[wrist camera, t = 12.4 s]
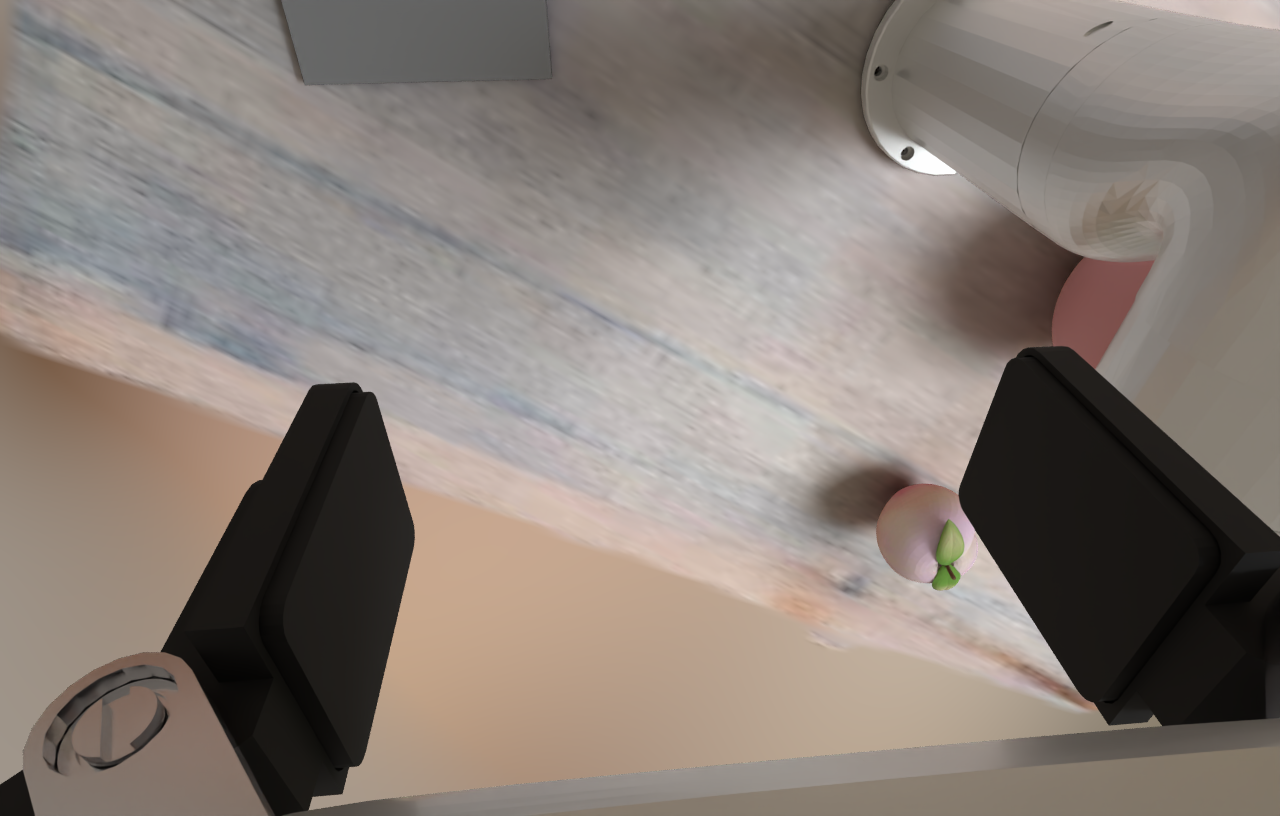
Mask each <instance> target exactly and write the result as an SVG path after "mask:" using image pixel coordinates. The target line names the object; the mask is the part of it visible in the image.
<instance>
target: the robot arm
mask: <svg viewBox="0 0 1280 816" xmlns="http://www.w3.org/2000/svg"><path fill="white" fill-rule="evenodd" d="M878 66H879V68H880V70H879V72H878V73H877V74H875V75H874V72H875V69H876V68H877V67H878ZM861 100H862V107H863V115H864V118H865V121H866V124H867V127H868V129H869V132H870V134H871V136H872V137H873V139H874V140H875V142H876V143H877V145H878V147H879V148H880V149H881V150H882V151H883V152H885V153H886V154H887V155H888V156H889V157H890V158H891V159H892V160H893V161H895V162H896V163H897V164H899V165H900V166H902V167H904V168H907V169H909V170H911V171H914V172H916V173H921V174H927V175H933V176H938V175H954V174H960V175H961V176H963V177H964V178H965V179H967V180H968V181H969V182H971V183H972V184H974V185H975V186H976V187H978V188H979V189H980V190H982V191H983V192H985V193H986V194H987V195H989V196H990V197H991V198H993V199H994V200H996V201H997V202H998V203H1000V204H1001V205H1003V206H1004V207H1005V208H1007V209H1008V210H1009V211H1011V212H1012V213H1014V214H1015V215H1016V216H1018V217H1019V218H1020V219H1022V220H1023V221H1025V222H1026V223H1027V224H1029V225H1030V226H1031V227H1033V228H1034V229H1036V230H1037V231H1039V232H1040V233H1042V234H1043V235H1045V236H1046V237H1048V238H1049V239H1050V240H1052V241H1053V242H1055V243H1056V244H1058V245H1059V246H1061V247H1063V248H1065V249H1066V250H1068V251H1070V252H1072V253H1075V254H1078V255H1081V256H1084V257H1087V258H1090V259H1095V260H1101V261H1109V262H1142V261H1153V260H1155V261H1154V263H1153V265H1152V267H1151V269H1150V271H1149V273H1148V275H1147V276H1146V278H1145V280H1144V282H1143V283H1142V285H1141V287H1140V289H1139V290H1138V292H1137V294H1136V297H1135V301H1134V303H1133V305H1132V306H1131V308H1130V310H1129V312H1128V313H1127V315H1126V317H1125V319H1124V320H1123V322H1122V324H1121V325H1120V327H1119V329H1118V331H1117V332H1116V334H1115V336H1114V338H1113V339H1112V341H1111V343H1110V344H1109V346H1108V348H1107V350H1106V351H1105V353H1104V355H1103V357H1102V358H1101V360H1100V362H1099V363H1098V365H1097V367H1096V369H1094V368H1093V367H1092V366H1091V365H1090V364H1089V363H1087V362H1086V361H1085V360H1084V359H1083V358H1082V357H1081V356H1080V355H1079V354H1078V353H1076V352H1075V351H1074V350H1073V349H1071V348H1069V347H1067V346H1051V347H1031V348H1026V349H1023V350H1022V351H1021V352H1020V353H1019V354H1018V355H1017V357H1016V358H1014V359H1011V360H1010V361H1009V362H1008V363H1007V365H1006V367H1005V369H1004V372H1003V375H1002V377H1001V380H1000V382H999V385H998V388H997V390H996V393H995V396H994V398H993V401H992V403H991V406H990V409H989V411H988V414H987V416H986V419H985V422H984V424H983V427H982V430H981V432H980V435H979V437H978V440H977V443H976V445H975V448H974V451H973V453H972V456H971V458H970V461H969V464H968V466H967V469H966V471H965V474H964V477H963V479H962V482H961V485H960V488H959V502H960V505H961V508H962V510H963V512H964V513H965V515H966V517H967V518H968V520H969V521H970V523H971V524H972V526H973V528H974V529H975V531H976V532H977V534H978V535H979V537H980V539H981V540H982V542H983V543H984V545H985V546H986V548H987V549H988V551H989V553H990V554H991V556H992V557H993V559H994V560H995V562H996V564H997V565H998V567H999V568H1000V570H1001V571H1002V573H1003V575H1004V576H1005V578H1006V579H1007V581H1008V582H1009V584H1010V586H1011V587H1012V589H1013V590H1014V592H1015V593H1016V595H1017V596H1018V598H1019V600H1020V601H1021V603H1022V604H1023V606H1024V607H1025V609H1026V611H1027V612H1028V614H1029V615H1030V617H1031V618H1032V620H1033V622H1034V623H1035V625H1036V626H1037V628H1038V629H1039V631H1040V632H1041V634H1042V636H1043V637H1044V639H1045V640H1046V642H1047V643H1048V645H1049V647H1050V648H1051V650H1052V651H1053V653H1054V654H1055V656H1056V658H1057V659H1058V661H1059V662H1060V664H1061V665H1062V667H1063V669H1064V670H1065V672H1066V673H1067V675H1068V676H1069V678H1070V679H1071V681H1072V683H1073V684H1074V686H1075V687H1076V689H1077V690H1078V692H1079V693H1080V694H1081V695H1082V696H1083V697H1084V698H1085V699H1086V700H1088V701H1090V702H1094V704H1095V705H1096V707H1097V708H1098V710H1099V711H1100V713H1101V714H1102V716H1103V717H1104V719H1105V720H1106V722H1107V724H1108V725H1120V724H1131V723H1143V722H1148V720H1149V719H1150V718H1151V717H1152V715H1155V717H1156V718H1157V719H1158V721H1159V722H1160V724H1161V725H1162V726H1160V727H1147V728H1136V729H1124V730H1112V731H1101V732H1088V733H1077V734H1065V735H1053V736H1041V737H1030V738H1018V739H1006V740H995V741H982V742H971V743H959V744H949V745H938V746H926V747H915V748H904V749H893V750H881V751H870V752H859V753H848V754H838V755H825V756H815V757H803V758H792V759H781V760H772V761H771V760H770V761H760V762H748V763H738V764H726V765H716V766H705V767H695V768H685V769H674V770H663V771H653V772H642V773H631V774H621V775H610V776H600V777H589V778H580V779H569V780H558V781H548V782H538V783H526V784H516V785H506V786H497V787H489V788H480V789H471V790H462V791H453V792H444V793H435V794H426V795H418V796H408V797H399V798H391V799H382V800H373V801H366V802H359V803H353V804H347V805H341V806H334V807H328V808H322V809H315V810H309V807H310V803H311V800H312V797H316V796H326V795H338V794H342V793H343V790H344V785H345V782H346V778H347V774H348V769H349V767H355V766H359V765H360V764H361V763H362V760H363V758H364V755H365V752H366V749H367V744H368V739H369V736H370V731H371V727H372V723H373V719H374V714H375V710H376V706H377V702H378V697H379V693H380V689H381V684H382V680H383V676H384V672H385V668H386V663H387V659H388V655H389V650H390V646H391V642H392V637H393V633H394V629H395V625H396V621H397V616H398V612H399V608H400V603H401V599H402V595H403V591H404V587H405V582H406V578H407V574H408V569H409V565H410V561H411V556H412V552H413V547H414V540H415V535H414V534H415V532H414V525H413V520H412V517H411V513H410V510H409V507H408V503H407V500H406V496H405V493H404V490H403V486H402V483H401V480H400V476H399V473H398V469H397V466H396V463H395V459H394V456H393V453H392V449H391V446H390V442H389V439H388V436H387V432H386V429H385V426H384V422H383V419H382V415H381V412H380V409H379V405H378V402H377V399H376V397H375V395H374V394H373V393H372V392H363V391H362V389H361V387H360V386H359V385H358V384H357V383H336V384H316V385H313V386H312V387H311V388H310V390H309V391H308V393H307V395H306V397H305V399H304V401H303V403H302V405H301V407H300V409H299V410H298V412H297V414H296V416H295V418H294V420H293V422H292V424H291V426H290V428H289V430H288V432H287V434H286V436H285V437H284V439H283V441H282V443H281V445H280V447H279V449H278V451H277V453H276V455H275V457H274V459H273V461H272V463H271V464H270V466H269V468H268V470H267V472H266V474H265V476H264V478H263V480H259V481H257V482H255V483H254V484H252V485H251V487H250V488H249V489H248V491H247V492H246V494H245V495H244V497H243V499H242V501H241V503H240V505H239V506H238V509H237V510H236V512H235V514H234V516H233V518H232V519H231V522H230V523H229V525H228V527H227V529H226V531H225V533H224V534H223V536H222V538H221V540H220V542H219V544H218V546H217V547H216V549H215V551H214V553H213V555H212V557H211V559H210V561H209V563H208V565H207V566H206V568H205V570H204V572H203V574H202V576H201V577H200V579H199V581H198V583H197V585H196V587H195V589H194V591H193V592H192V594H191V596H190V598H189V600H188V602H187V604H186V606H185V607H184V609H183V611H182V613H181V615H180V617H179V619H178V620H177V622H176V624H175V626H174V628H173V630H172V632H171V633H170V635H169V637H168V639H167V641H166V643H165V645H164V647H163V649H162V650H161V652H143V653H139V654H135V655H130V656H126V657H122V658H119V659H117V660H114V661H112V662H110V663H108V664H105V665H104V666H101V667H99V668H97V669H95V670H93V671H91V672H90V673H88V674H87V675H85V676H84V677H82V678H81V679H79V680H78V681H76V682H75V683H73V684H72V685H70V686H69V687H68V688H67V689H66V690H65V691H64V692H63V693H62V694H60V695H59V696H58V697H57V698H56V699H55V700H54V701H53V702H52V703H51V704H50V705H49V706H48V707H47V708H46V710H45V711H44V712H43V714H42V715H41V717H40V718H39V719H38V721H37V722H36V723H35V725H34V726H33V728H32V730H31V732H30V735H29V737H28V740H27V742H26V745H25V747H24V750H23V770H22V771H20V772H19V773H17V774H16V775H14V776H13V777H11V778H10V779H8V780H7V781H5V782H3V783H2V784H0V816H1280V30H1276V29H1269V28H1262V27H1255V26H1248V25H1241V24H1236V23H1231V22H1225V21H1220V20H1215V19H1210V18H1205V17H1199V16H1193V15H1188V14H1183V13H1178V12H1173V11H1168V10H1162V9H1157V8H1152V7H1147V6H1142V5H1137V4H1132V3H1127V2H1122V1H1117V0H895V1H894V3H893V4H892V5H891V6H890V8H889V9H888V10H887V12H886V14H885V16H884V17H883V19H882V21H881V23H880V24H879V26H878V28H877V30H876V31H875V34H874V36H873V39H872V42H871V44H870V47H869V49H868V52H867V55H866V60H865V64H864V69H863V73H862V86H861ZM904 148H906V149H905V151H904V152H903V153H901V152H902V150H903V149H904ZM308 810H309V811H308Z"/></svg>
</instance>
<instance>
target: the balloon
mask: <svg viewBox="0 0 1280 816" xmlns="http://www.w3.org/2000/svg"><path fill="white" fill-rule="evenodd" d="M1154 261H1155V260H1153V261H1142V262H1109V261H1101V260H1095V259H1090V258H1087V257H1084V258H1083V259H1082V260H1081V261H1080V262H1079V263H1078V264H1077V266H1076V267H1075V268H1074V270H1073V271H1072V272H1071V274H1070V275H1069V277H1068V279H1067V280H1066V282H1065V284H1064V286H1063V288H1062V290H1061V292H1060V294H1059V297H1058V299H1057V302H1056V305H1055V309H1054V314H1053V321H1052V342H1053V346H1067V347H1069V348H1071V349H1073V350H1074V351H1075V352H1076V353H1078V354H1079V355H1080V356H1081V357H1082V358H1083V359H1084V360H1085V361H1086V362H1087V363H1089V364H1090V365H1091V366H1092V367H1093V368H1094V369H1096V367H1097V365H1098V363H1099V362H1100V360H1101V358H1102V357H1103V355H1104V353H1105V351H1106V350H1107V348H1108V346H1109V344H1110V343H1111V341H1112V339H1113V338H1114V336H1115V334H1116V332H1117V331H1118V329H1119V327H1120V325H1121V324H1122V322H1123V320H1124V319H1125V317H1126V315H1127V313H1128V312H1129V310H1130V308H1131V306H1132V305H1133V303H1134V301H1135V297H1136V294H1137V292H1138V290H1139V289H1140V287H1141V285H1142V283H1143V282H1144V280H1145V278H1146V276H1147V275H1148V273H1149V271H1150V269H1151V267H1152V265H1153V263H1154Z"/></svg>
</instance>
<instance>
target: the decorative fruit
mask: <svg viewBox="0 0 1280 816" xmlns="http://www.w3.org/2000/svg"><path fill="white" fill-rule="evenodd" d="M876 534H877V542H878V546H879V549H880V551H881V554H882V555H883V557H884V559H885V560H886V562H887V563H888V564H889V566H890V567H891V568H892V569H893V570H894V571H895V572H896V573H898V574H899V575H901V576H902V577H904V578H906V579H909V580H911V581H915V582H920V583H932V587H933V588H934V589H936V590H948V589H950V588H952V587H954V586H955V585H956V584H957V583H958V581H959V579H960V577H961V576H962V575H963V574H965V573H966V572H967V571H968V570H969V569H970V568H971V567H972V565H973V564H974V562H975V560H976V557H977V553H978V544H977V538H976V535H975V529H974V528H973V526H972V524H971V523H970V521H969V520H968V518H967V517H966V515H965V513H964V512H963V510H962V508H961V505H960V502H959V495H958V494H956V493H954V492H953V491H951V490H949V489H947V488H944V487H941V486H938V485H933V484H915V485H911V486H908V487H905V488H903V489H901V490H899V491H898V492H896V493H895V494H894V495H893V496H892V497H891V498H890V499H889V501H888V502H887V503H886V505H885V506H884V508H883V510H882V512H881V514H880V516H879V518H878V522H877V529H876Z"/></svg>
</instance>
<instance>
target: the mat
mask: <svg viewBox="0 0 1280 816" xmlns="http://www.w3.org/2000/svg"><path fill="white" fill-rule="evenodd" d="M281 1H282V5H283V9H284V12H285V16H286V19H287V23H288V26H289V30H290V34H291V37H292V41H293V44H294V48H295V52H296V55H297V59H298V62H299V66H300V69H301V73H302V77H303V80H304V84H305V85H324V84H366V83H407V82H448V81H489V80H530V79H552V72H551V59H550V46H549V33H548V20H547V7H546V0H281Z"/></svg>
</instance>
